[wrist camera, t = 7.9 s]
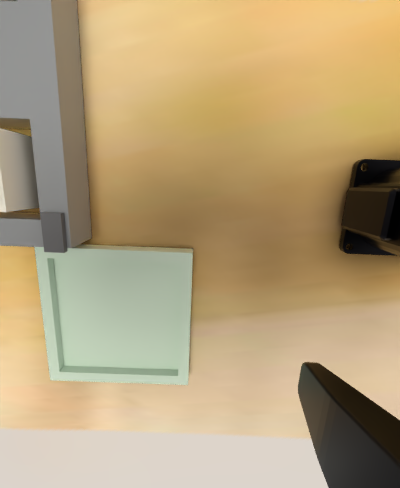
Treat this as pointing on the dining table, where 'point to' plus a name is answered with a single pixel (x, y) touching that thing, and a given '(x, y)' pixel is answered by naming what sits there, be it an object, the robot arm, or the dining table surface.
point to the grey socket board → (46, 120)
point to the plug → (17, 172)
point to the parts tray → (117, 313)
